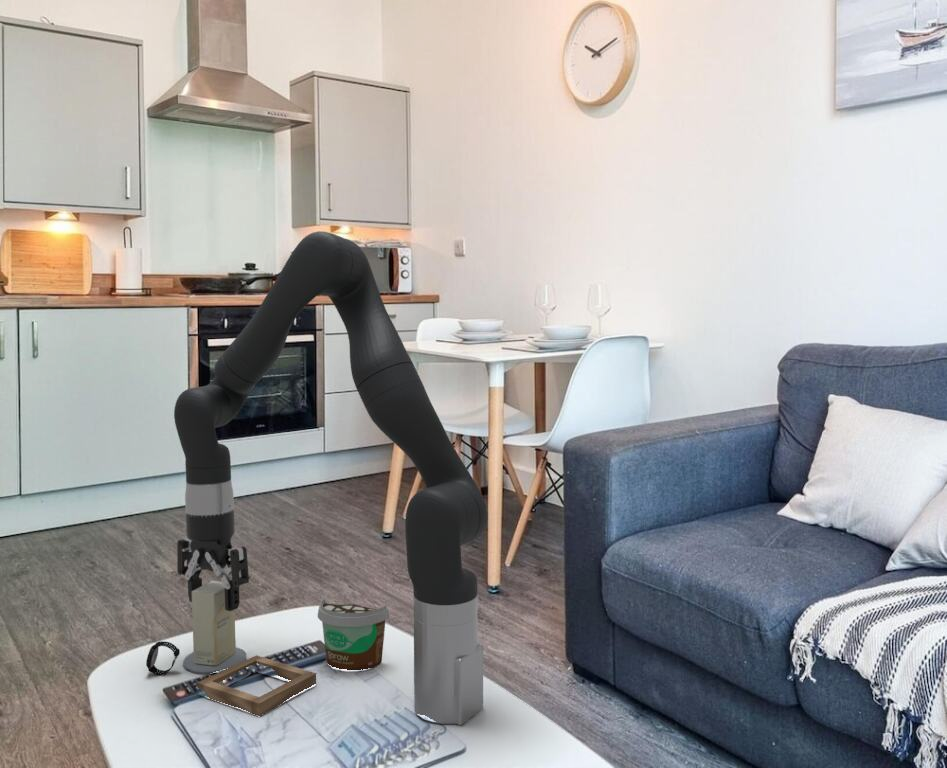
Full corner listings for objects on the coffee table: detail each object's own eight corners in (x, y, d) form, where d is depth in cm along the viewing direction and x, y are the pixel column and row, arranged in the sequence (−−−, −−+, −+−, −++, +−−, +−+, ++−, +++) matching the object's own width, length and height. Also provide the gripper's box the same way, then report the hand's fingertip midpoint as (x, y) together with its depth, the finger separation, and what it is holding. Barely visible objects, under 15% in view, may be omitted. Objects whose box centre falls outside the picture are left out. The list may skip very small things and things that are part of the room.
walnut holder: (316, 685, 133) (316, 673, 133) (259, 716, 123) (258, 703, 123) (256, 667, 140) (256, 655, 140) (197, 695, 130) (197, 682, 130)
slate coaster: (259, 657, 144) (259, 654, 144) (212, 679, 135) (212, 675, 135) (217, 645, 149) (217, 641, 149) (170, 665, 141) (170, 661, 141)
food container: (304, 669, 139) (303, 609, 138) (322, 655, 145) (321, 597, 144) (374, 679, 135) (374, 617, 134) (390, 664, 141) (389, 604, 140)
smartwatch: (157, 666, 140) (156, 637, 140) (184, 671, 139) (182, 641, 138) (140, 677, 136) (138, 646, 136) (167, 681, 135) (166, 650, 134)
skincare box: (216, 667, 139) (214, 593, 137) (192, 664, 140) (190, 591, 139) (237, 652, 145) (235, 581, 144) (213, 649, 146) (211, 579, 145)
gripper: (258, 508, 139) (261, 605, 141) (198, 499, 147) (202, 592, 148) (222, 518, 133) (226, 620, 134) (161, 508, 140) (166, 604, 142)
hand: (213, 605), depth 141 cm, fingers open, 8 cm apart
